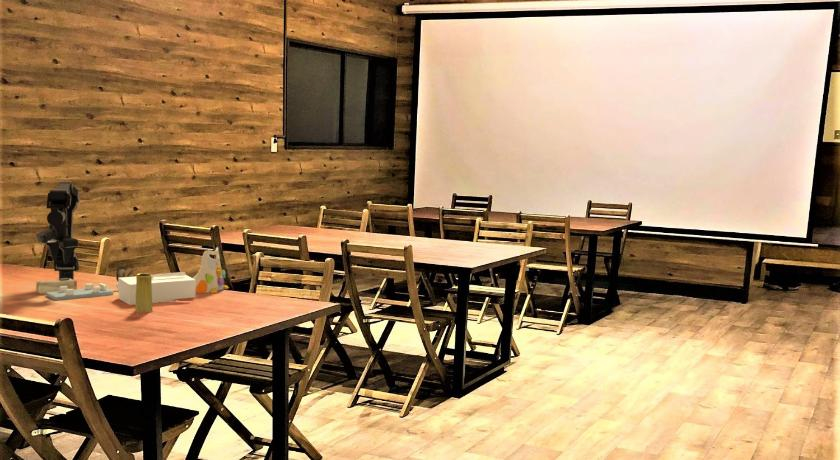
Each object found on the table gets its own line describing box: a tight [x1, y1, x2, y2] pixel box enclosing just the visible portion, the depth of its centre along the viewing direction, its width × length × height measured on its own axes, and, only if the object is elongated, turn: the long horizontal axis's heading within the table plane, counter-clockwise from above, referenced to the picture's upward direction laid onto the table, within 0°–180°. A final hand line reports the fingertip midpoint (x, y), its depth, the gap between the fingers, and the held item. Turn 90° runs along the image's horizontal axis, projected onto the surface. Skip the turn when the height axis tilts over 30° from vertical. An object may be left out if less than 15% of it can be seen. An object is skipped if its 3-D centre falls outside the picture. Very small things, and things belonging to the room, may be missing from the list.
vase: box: [134, 272, 153, 314], centre depth 310 cm, size 6×6×14 cm
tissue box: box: [117, 271, 196, 306], centre depth 334 cm, size 14×25×11 cm, turn 124°
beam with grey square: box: [35, 278, 78, 295], centre depth 342 cm, size 4×14×5 cm, turn 132°
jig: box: [45, 282, 114, 301], centre depth 336 cm, size 10×22×4 cm, turn 132°
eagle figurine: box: [115, 266, 135, 288], centre depth 351 cm, size 8×7×9 cm
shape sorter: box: [192, 247, 229, 294], centre depth 353 cm, size 20×10×18 cm, turn 168°
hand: (59, 261), depth 340 cm, fingers open, 9 cm apart
